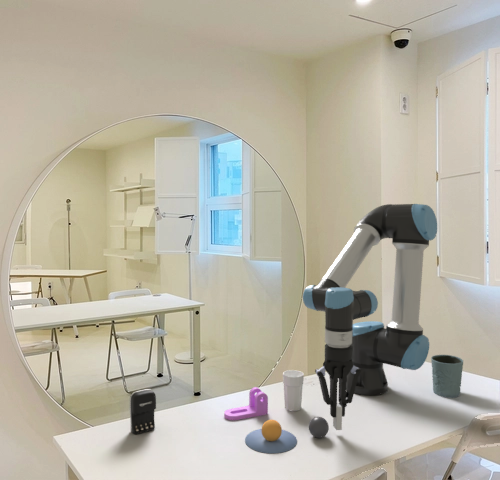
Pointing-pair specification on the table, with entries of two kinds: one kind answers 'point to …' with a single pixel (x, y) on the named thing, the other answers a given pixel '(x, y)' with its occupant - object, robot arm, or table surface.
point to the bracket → (250, 406)
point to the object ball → (271, 430)
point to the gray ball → (318, 427)
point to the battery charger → (142, 411)
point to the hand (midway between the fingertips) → (337, 427)
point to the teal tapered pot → (447, 375)
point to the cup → (293, 389)
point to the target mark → (270, 442)
